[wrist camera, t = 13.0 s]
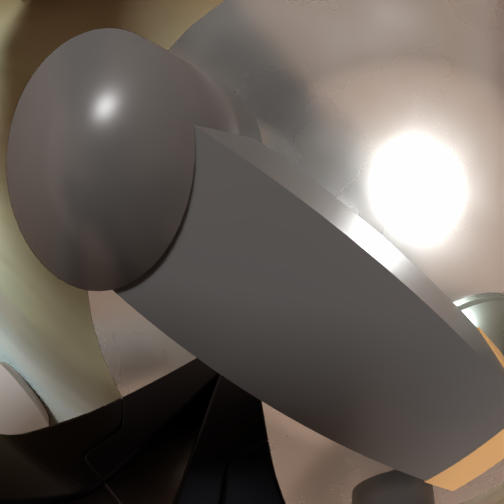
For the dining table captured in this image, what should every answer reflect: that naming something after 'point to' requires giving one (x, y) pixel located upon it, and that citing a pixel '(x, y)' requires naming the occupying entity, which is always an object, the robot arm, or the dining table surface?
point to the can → (19, 404)
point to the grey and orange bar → (393, 490)
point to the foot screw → (246, 258)
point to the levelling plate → (360, 172)
